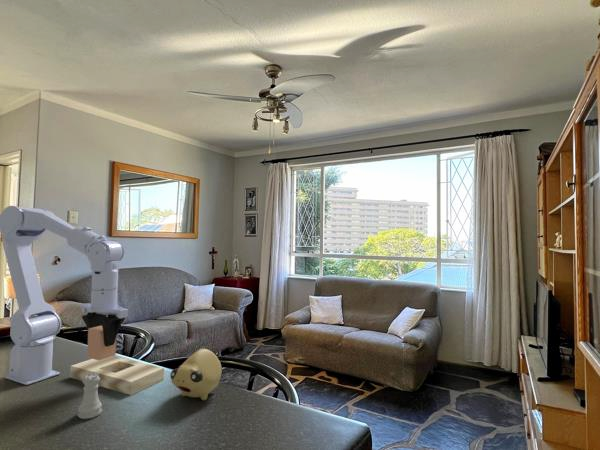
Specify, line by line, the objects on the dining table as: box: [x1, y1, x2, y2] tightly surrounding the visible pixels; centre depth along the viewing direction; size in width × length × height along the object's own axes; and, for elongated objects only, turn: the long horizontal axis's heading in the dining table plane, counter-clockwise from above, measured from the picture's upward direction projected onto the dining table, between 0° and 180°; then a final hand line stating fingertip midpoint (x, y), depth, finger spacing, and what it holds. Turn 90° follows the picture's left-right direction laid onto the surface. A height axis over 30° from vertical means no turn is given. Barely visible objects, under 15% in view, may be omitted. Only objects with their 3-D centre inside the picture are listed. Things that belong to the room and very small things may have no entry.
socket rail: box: [69, 355, 165, 396], centre depth 91 cm, size 22×10×3 cm, turn 66°
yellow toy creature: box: [170, 348, 222, 401], centre depth 82 cm, size 10×12×11 cm
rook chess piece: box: [76, 373, 103, 420], centre depth 73 cm, size 4×4×8 cm
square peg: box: [86, 325, 117, 360], centre depth 88 cm, size 4×4×7 cm
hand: (102, 343), depth 88 cm, fingers closed on square peg, 4 cm apart
